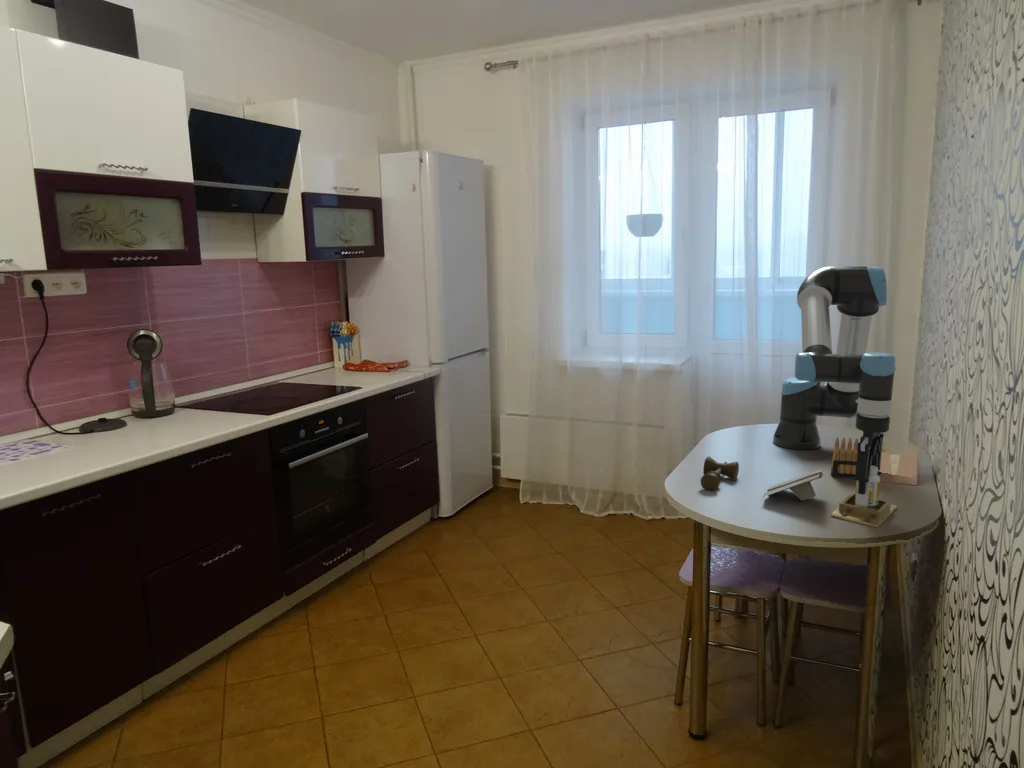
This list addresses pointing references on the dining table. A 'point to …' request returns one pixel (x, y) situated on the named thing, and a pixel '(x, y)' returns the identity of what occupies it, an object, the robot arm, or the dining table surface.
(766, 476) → the dining table surface
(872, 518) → the wooden holder tray
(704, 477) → the kendama
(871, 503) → the supplement bottle
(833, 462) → the ammunition clip
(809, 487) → the grey tablet stand
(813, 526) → the dining table surface
